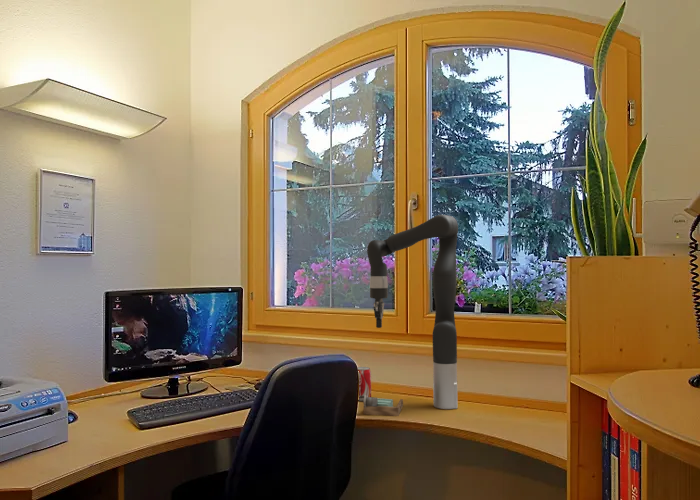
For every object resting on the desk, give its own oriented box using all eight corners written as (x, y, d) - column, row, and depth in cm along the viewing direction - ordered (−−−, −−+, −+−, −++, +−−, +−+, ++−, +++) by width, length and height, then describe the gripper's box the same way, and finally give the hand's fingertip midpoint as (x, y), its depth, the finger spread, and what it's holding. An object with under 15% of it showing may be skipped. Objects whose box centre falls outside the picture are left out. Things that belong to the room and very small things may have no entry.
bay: (402, 405, 216) (402, 388, 216) (397, 417, 200) (397, 398, 200) (366, 404, 219) (366, 386, 219) (358, 415, 203) (358, 396, 203)
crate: (393, 409, 211) (392, 398, 211) (388, 415, 204) (388, 403, 204) (373, 408, 214) (372, 397, 214) (367, 413, 206) (367, 402, 206)
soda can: (351, 401, 224) (351, 369, 224) (356, 397, 231) (356, 366, 231) (368, 402, 222) (368, 370, 222) (373, 398, 229) (372, 366, 229)
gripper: (385, 287, 226) (385, 329, 226) (389, 286, 239) (389, 326, 239) (367, 287, 228) (367, 329, 227) (372, 286, 241) (372, 325, 240)
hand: (379, 327), depth 233 cm, fingers closed
